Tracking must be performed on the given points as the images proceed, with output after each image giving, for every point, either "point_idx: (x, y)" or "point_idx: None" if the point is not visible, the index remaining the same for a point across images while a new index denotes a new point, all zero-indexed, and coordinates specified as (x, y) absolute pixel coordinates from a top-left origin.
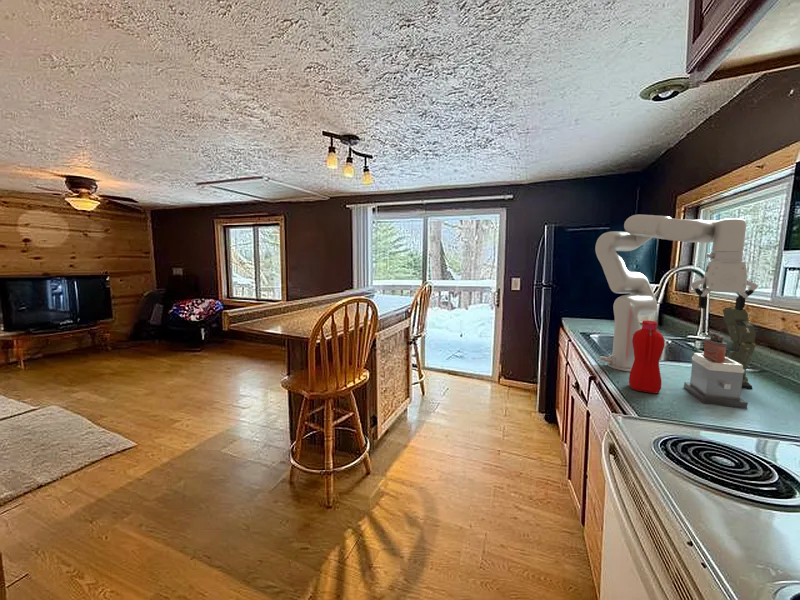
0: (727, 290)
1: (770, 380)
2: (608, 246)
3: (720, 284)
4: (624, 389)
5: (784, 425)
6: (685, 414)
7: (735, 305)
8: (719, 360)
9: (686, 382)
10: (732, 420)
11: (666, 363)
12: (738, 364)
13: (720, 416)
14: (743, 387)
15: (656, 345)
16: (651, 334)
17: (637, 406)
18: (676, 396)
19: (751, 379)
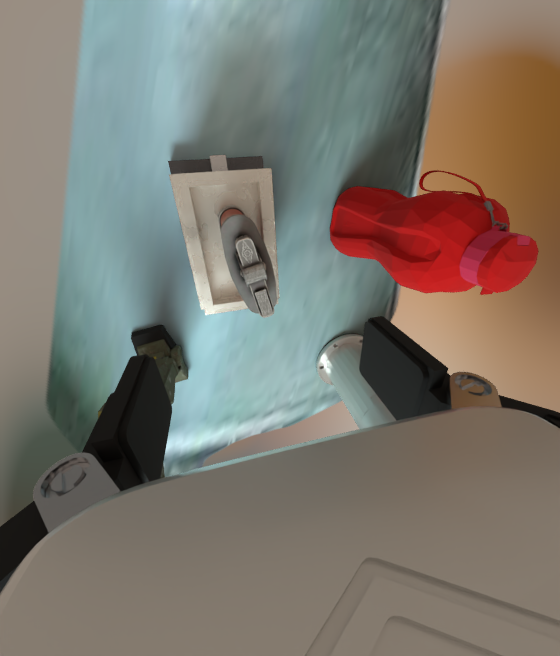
0: (321, 453)
1: (86, 412)
2: None
3: (520, 551)
4: None
5: (103, 35)
6: (328, 30)
7: (168, 426)
8: (237, 210)
9: None
10: (226, 23)
11: (258, 423)
12: (186, 180)
13: (248, 52)
14: (148, 329)
15: (441, 192)
16: (483, 211)
17: (419, 55)
18: (304, 194)
19: None
